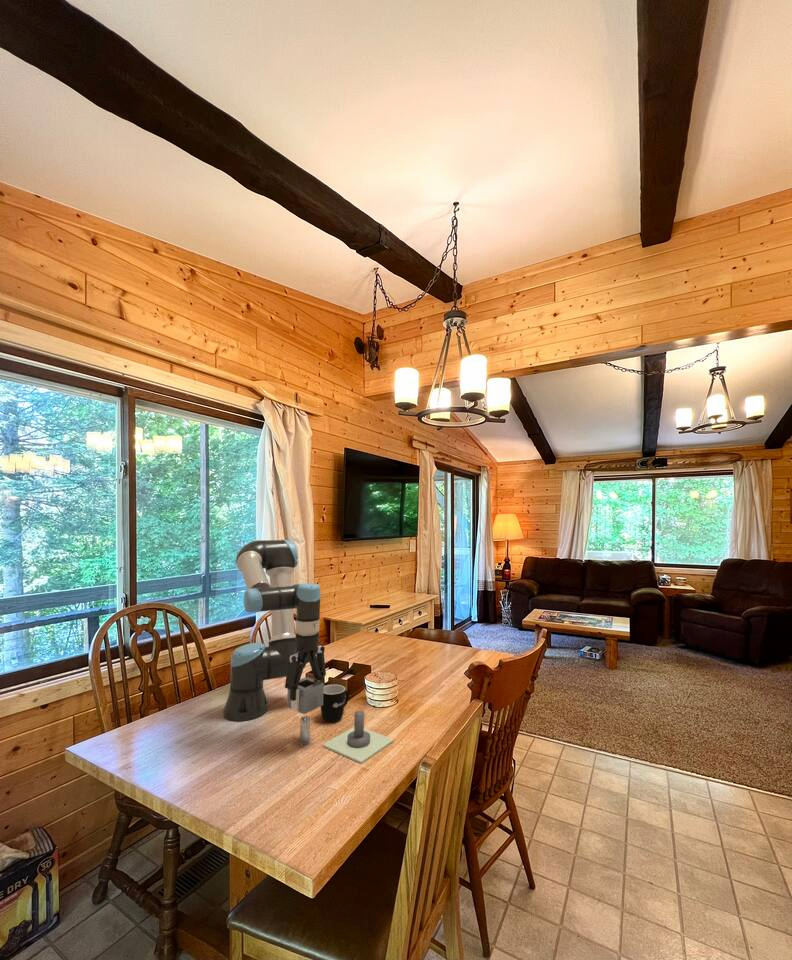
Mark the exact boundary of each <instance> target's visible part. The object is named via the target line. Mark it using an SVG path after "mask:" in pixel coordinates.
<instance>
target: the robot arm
mask: <svg viewBox="0 0 792 960" xmlns="http://www.w3.org/2000/svg"><path fill="white" fill-rule="evenodd" d="M235 560H236V561H235V562H236V566H237V569H238V570H239V572H241V574H242V576H243V581H244V583H245V586H246V590H244V595H243V605H244V606H243V608H244V610H245V612H247V613H260V612H270V613H271V616H270V617H271V633H272V634H271V635H272V636H271V638H270V639H269V640H268V646H265V644H264V643H262V642H251V643H247V644H244V645H241V646H239V647H237V648H235V649H234V651H233V652H232V653H231V658H230V679H229V681H230V682H229V694H228V696H227V699H226V702H225V705H224V707H223V716H224V718H225V719H227V720H230V721H234V722H243V721H245V722H246V721H250V720H255V719H257V718H260V717H261V716H264V715H265V714H266V713H267V712H268V700H267V697H266V694H265V690H264V681H268V680H275V679H280V678H285V681H284V682H285V683H284V688H285V689H286V690H288V689H289V690H290V700H291V708H290V710H292V711H294V712H298V711H299V689H297V688H298V684H299V681H300V679H302V678H301V677H302V675H303V671H304V669H305V668H306V667H307V664H308V663H309V666H310V668H311V672H312V675H313V679H314V680H317V681H320V682H322V681H323V680H324V677H326V675H327V670H326V661H325V651H326V649H325V648H326V647H325V646H322V645H319V643H320V633H319V632H320V620H321V619H320V618H321V616H320V615H321V596H322V593H321V586H320V585H319V584H318V583H313V582H305V583H304V582H303V583H295V584H292V574H293V573H294V571H295V568H296V567H297V566H298V565H299V553H298V549H297V545H296V543H295V542H293V540H287V539H286V540H285V539H275V540H274V539H273V540H272V539H271V540H264V539H263V540H254V541H253V540H252V541H250V542H248V543H247V544H245V545H244V546H243V547H241V548H240V550H239V551H238V552H237V555H236V559H235ZM264 570H265V571H264ZM267 577H269V580H268V578H267ZM294 609H295V610H296V614H295V615H296V616H295V617H296V618H294Z"/></svg>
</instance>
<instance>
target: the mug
mask: <svg viewBox="0 0 792 960" xmlns="http://www.w3.org/2000/svg"><path fill="white" fill-rule="evenodd" d="M348 701H349V693H348V691H347V690H346V687H345V686H343V685H341V684H327V685H324V690H323V705H322V706H320V713H321V717H322V720H323V721H324V722H325V723H336V722H339V721H340V720H341V719H342V717H343V714H344V710H345V707H346V706H347V704H348V703H349V702H348Z"/></svg>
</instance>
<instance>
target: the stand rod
mask: <svg viewBox="0 0 792 960" xmlns="http://www.w3.org/2000/svg"><path fill="white" fill-rule="evenodd" d="M299 727H300V728H299V732H300V733H299V745H300V746H308V745H310V741H311V734H310V733H311V717H310V716H308V715H307V716H306V715H305V716H302V717H300V726H299Z"/></svg>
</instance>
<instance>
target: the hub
mask: <svg viewBox="0 0 792 960" xmlns="http://www.w3.org/2000/svg"><path fill="white" fill-rule="evenodd" d="M353 724H354V726H353V727H351V728H349V729H348V730H346V731H344V732H342V733H340V734H338V735H337V736H335V737H333V738H332V739H330V740H327V741H326V742H324V743H323V744H322V747H323V748H324V749H328V750H329V751H331V752H334V753H336V754H338V755H341V756H342V757H345V758H348V759H349V760H352V761H354V762H355V763H358V764H360V765H362V764H363V763H366V761H368V760H369V759H371V758H372V757H374V756H375V755H376V754H378V753H379V752H381V751H382V750H384V749H386V747H389V746H390V745H391V744H392V743H394V742H395V739H394V738H391V737H389V736H387V735H383V734H381V733H378V732H375V731H373V730H370V729H368V728H366V727H365V712H364V711H362V710H356V711H355V712H354V723H353Z"/></svg>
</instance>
